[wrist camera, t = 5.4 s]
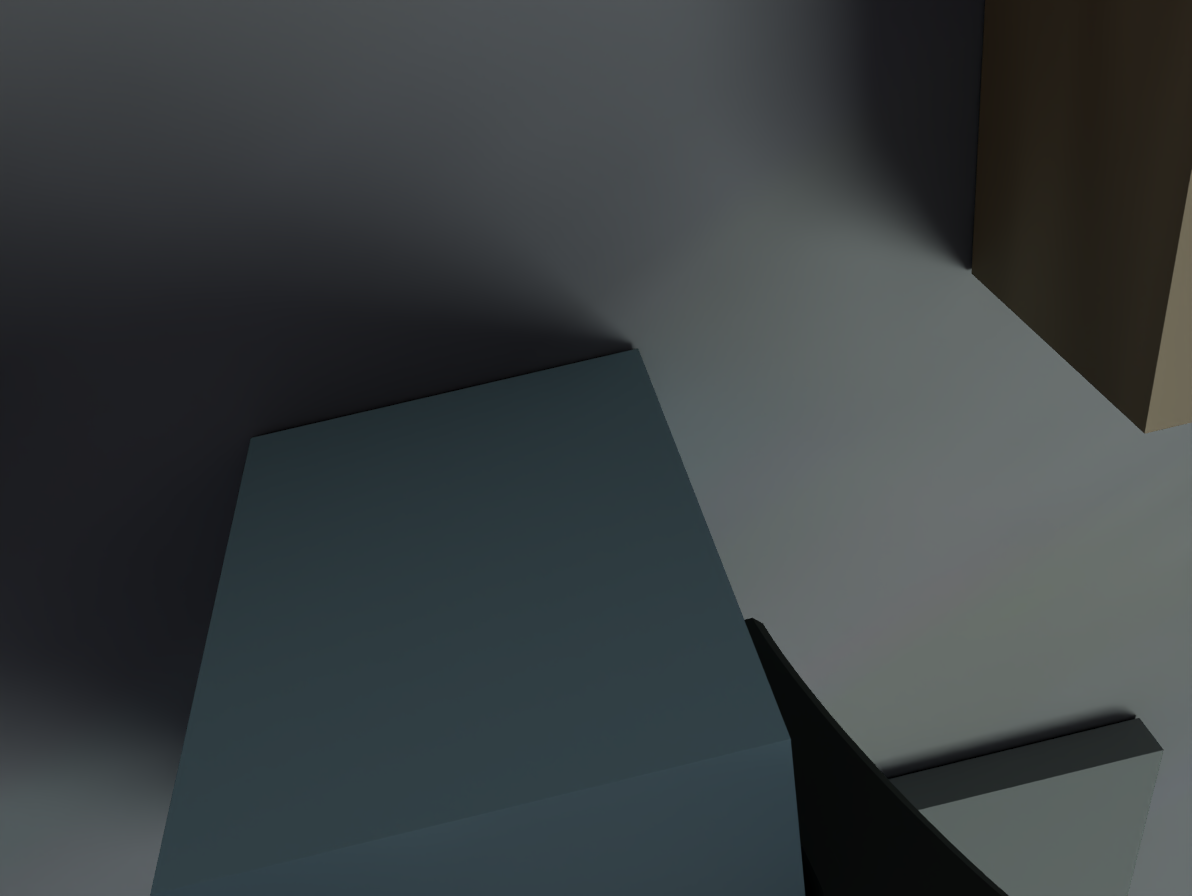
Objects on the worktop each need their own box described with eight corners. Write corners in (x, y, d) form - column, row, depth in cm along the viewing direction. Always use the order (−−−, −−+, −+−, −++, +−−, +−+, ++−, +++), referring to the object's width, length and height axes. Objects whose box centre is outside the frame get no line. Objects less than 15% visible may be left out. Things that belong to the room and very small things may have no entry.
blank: (433, 838, 14) (445, 1272, 10) (251, 438, 10) (149, 896, 6) (710, 770, 14) (831, 1172, 10) (638, 348, 10) (789, 738, 6)
